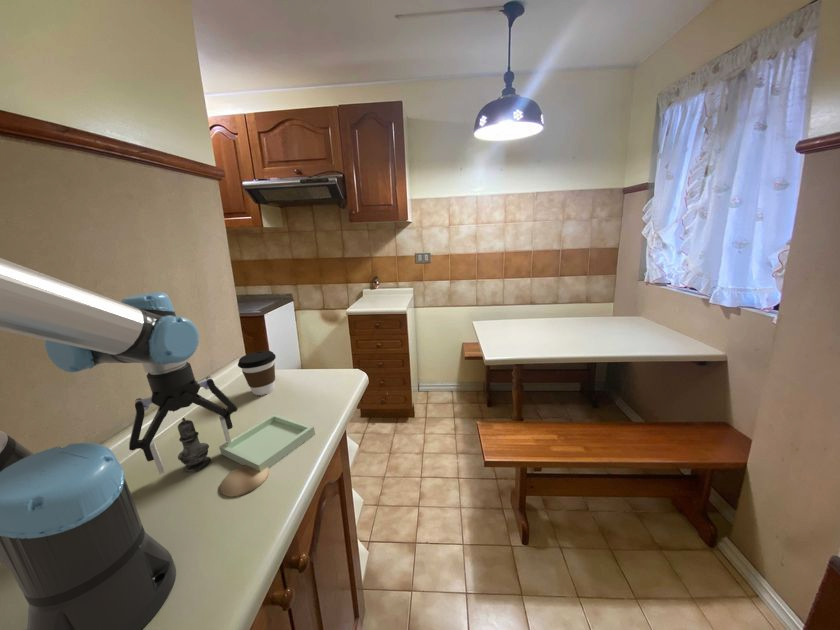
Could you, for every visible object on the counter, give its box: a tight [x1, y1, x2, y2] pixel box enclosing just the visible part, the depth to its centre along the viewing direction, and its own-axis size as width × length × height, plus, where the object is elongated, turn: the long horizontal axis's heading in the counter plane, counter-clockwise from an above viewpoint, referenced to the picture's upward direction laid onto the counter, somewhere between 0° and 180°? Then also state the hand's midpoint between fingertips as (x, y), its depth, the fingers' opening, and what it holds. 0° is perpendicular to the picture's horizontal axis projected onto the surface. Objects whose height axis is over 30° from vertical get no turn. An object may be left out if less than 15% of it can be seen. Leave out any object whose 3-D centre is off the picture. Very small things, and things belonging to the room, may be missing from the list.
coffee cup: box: [237, 350, 277, 396], centre depth 108 cm, size 11×11×12 cm
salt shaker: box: [177, 417, 212, 474], centre depth 75 cm, size 6×6×12 cm
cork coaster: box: [220, 465, 270, 498], centre depth 70 cm, size 9×9×1 cm
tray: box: [218, 413, 316, 472], centre depth 81 cm, size 15×15×2 cm
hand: (196, 455), depth 76 cm, fingers open, 12 cm apart
